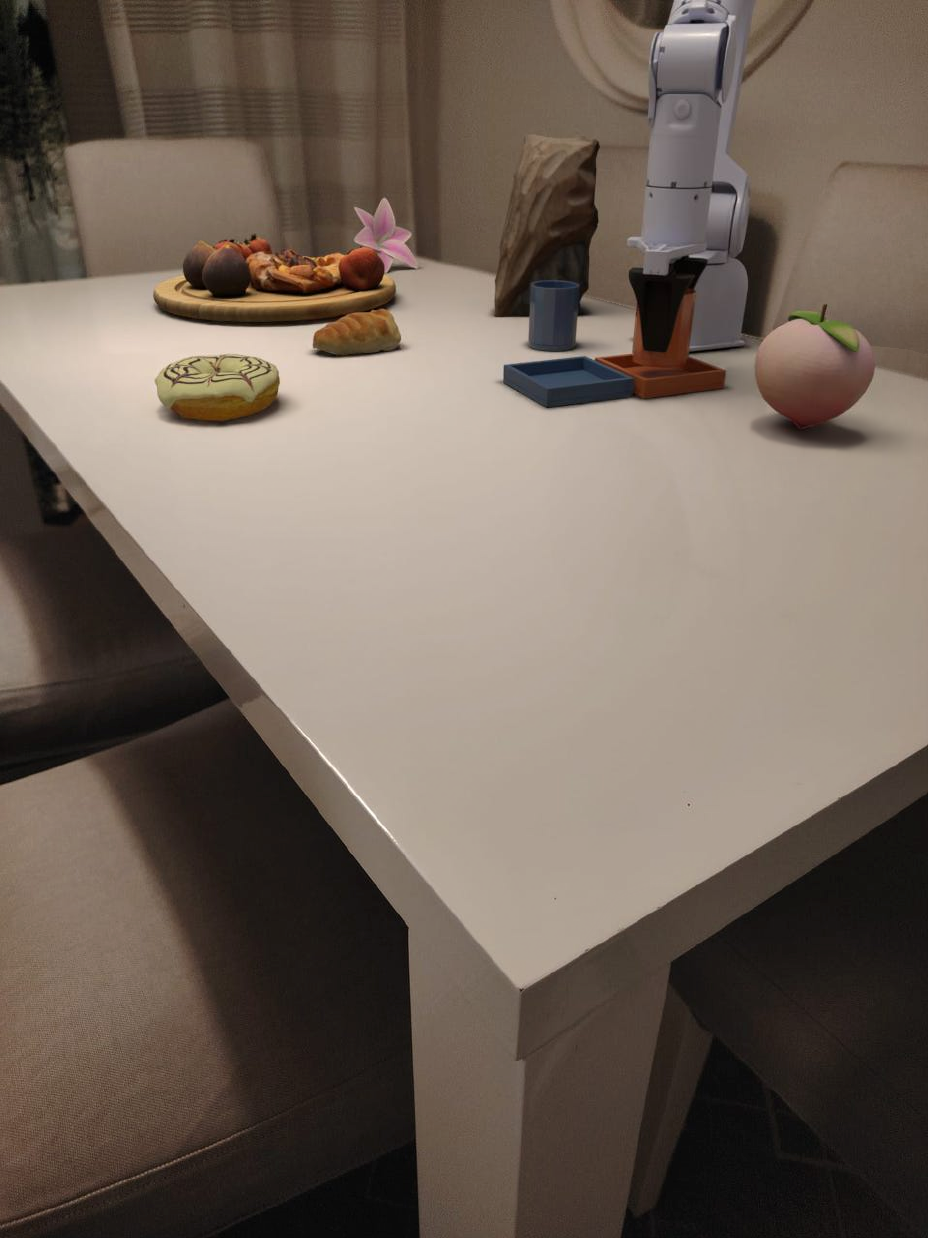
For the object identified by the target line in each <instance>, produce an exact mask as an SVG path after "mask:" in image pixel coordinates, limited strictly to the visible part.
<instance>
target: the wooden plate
mask: <svg viewBox="0 0 928 1238" xmlns="http://www.w3.org/2000/svg"><path fill="white" fill-rule="evenodd" d="M182 263H183V264H182V272H183V274H182V275H178V276H175V277H172V278H169V279H166V280H164V281H162V282H160V283H159V284H157V285H156V286H155V287H154V289H153V294H152V296H153V297H152V298H153V300H154V303H155V304H156V305H157V306H158V308H160V309H161V310H162V311H165V312H167V313H171V314H173V315H176V316H180V317H181V316H182V317H187V318H192V319H199V320H208V321H218V322H237V323H238V322H239V323H269V322H293V321H305V320H315V319H324V318H325V319H326V318H333V317H340V316H346V315H349V314H351V313H358V312H359V313H362V312H365V311H369V310H373V309H375V308H379V307H381V306H384V305H385V304H387V303H388V302H390V301H391V300H392V299H393V298H394V297H395V295H396V293H397V285H396V283H395V280H394V279H393V278H392V277H391V276H390V275H388V274H386V273H385V272H384V271H385V268H384V266H385V265H384V263H383V261H382V259H381V258H380V257H379V256H378V253H377V250H374V249H373V248H370V247H367V246H360V247H358V248H351V249H350V250H349V251H347V253H346V254H342V253H340V252H334V253H331V254H327V255H325V256H318V257H310V256H306V255H305V256H304V255H300V254H299V253H297V252H296V251H295V250H293V249H292V248H289V249H281V250H280V253H279V252H275V253H274V254H273V251H272V247H271V245H270V243H269V242H268V241H267V240H266V239H264V238H262V237H261V235H259V236H258V235H257V233H252V234H251V236H250V238H245V239H244V241H243V242H242V241H235V239H234V238H233V239H229V240H228V239H221V240H220V241H219V242H218V243H217V244H216V245H214V246H211V245H209V244H208V243H206V242H204V241H203V240H199V241H198V242H197V244H194V245H193V247H191V249H189V251H188V252H187V254H186V256H185V258H184V260H183V262H182Z"/></svg>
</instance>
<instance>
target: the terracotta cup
mask: <svg viewBox="0 0 928 1238" xmlns="http://www.w3.org/2000/svg"><path fill="white" fill-rule="evenodd" d="M695 299H696V291H695V290H694V289H691V288H688V289H687V291H686V293H685V295H684V297H683V300H682V302H681V305H680V308H679V311H678V314H677V318H676V322H675V326H674V330H673V334H672V338H671V341H670V344H669V346H668V349H667V351H666V352H654V351H644V349H643V344H642V336H641V326H640V316H639V309H638V304H637V303H636V308H635V316H634V317H635V318H634V327H633V337H632V338H633V340H632V351H631V354H633V355H632V360H633V362H635V363H637V364H640V365H644V366H649V367H660V368H669V367H678V366H682V365H685V364H686V363H687V358H688V356H690V355H689V354H690V352H689V347H690V339H691V331H692V323H693V315H694V307H695Z"/></svg>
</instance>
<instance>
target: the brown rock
mask: <svg viewBox="0 0 928 1238" xmlns="http://www.w3.org/2000/svg"><path fill="white" fill-rule="evenodd" d="M522 145H523V146H522V149H521V151H520V155H519V159H518V161H517V165H516V168H515V171H514V174H513V183H512V188H511V192H510V196H509V202H508V207H507V211H506V216H505V220H504V225H503V229H502V233H501V237H500V241H499V242H500V244H499V257H498V258H499V259H498V266H497V269H496V275H495V277H494V301H493V302H494V314H493V316H494V317H529V310H530V284H531V283H533V282H535V281H544V280H562V281H570V282H575V283H578V284H579V299H578V315H577V316H579V315H580V316H581V315H584V314H585V312H584V311H583V310H582V307H581V300H582V298H583V296H584V294H585V293H587V292H588V290H589V287H590V285H589V283H590V281H589V278H590V273H589V272H590V248H591V247H590V246H591V243H592V238H593V237H594V235H595V233H596V231H597V229H598V227H599V226H598V224H599V222H600V221H599V210H598V208H597V207H596V205H595V199H596V185H597V173H598V172H597V157H598V152H599V150H600V148H601V145H600V141H599V140H597V139H596V138H594V139H592V140H590V139H588V138H587V137H586V136H585V135H584V136H576V137H570V138H568V137H562V138H557V137H549V136H545V135H543V134H537V133H536V134H534V133H527V134H525V136H524V138H523V144H522Z"/></svg>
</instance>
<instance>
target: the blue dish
mask: <svg viewBox="0 0 928 1238" xmlns="http://www.w3.org/2000/svg"><path fill="white" fill-rule="evenodd" d="M502 374H503V376H502V377H503V378H502V382H503V383H504V384H505V385H507V386H509V387H511V388H512V389H514V390H516V391H518V392H519V393H520V394H523V395H524V396H526V397H528V398H529V399H530V400H533V401H535V402H536V403H538V404H540V405H542V406H543V407H545V408H553V407H561V406H569V405H578V404H585V403H591V402H592V403H593V402H601V401H607V400H609V401H610V400H616V399H624V398H632V397H633V396H634V394H633V388H634V378H633V377H630V376H628V375H626V374H624V373H622V372H619V371H617V370H615V369H613V368H610V367H608V366H606V365H604V364H602V363H599V362H597V361H595V359H592V358H590V357H588V356H586V355H581V356H573V357H563V358H554V359H553V358H552V359H544V360H536V361H529V362H528V361H527V362H526V361H525V362H517V363H516V362H515V363H509V364H503V372H502Z"/></svg>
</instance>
